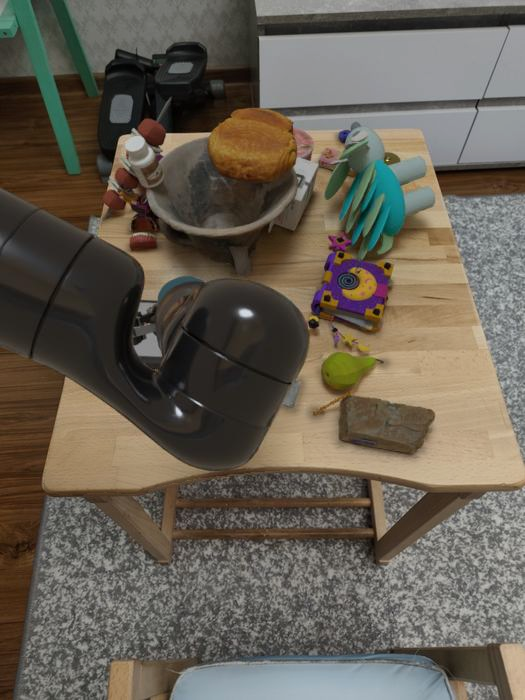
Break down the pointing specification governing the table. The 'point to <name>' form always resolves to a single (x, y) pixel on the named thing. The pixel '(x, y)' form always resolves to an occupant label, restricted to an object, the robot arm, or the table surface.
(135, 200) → the toy car
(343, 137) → the blue irregular piece
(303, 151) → the container
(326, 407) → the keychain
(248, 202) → the bowl
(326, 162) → the toy
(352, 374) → the fruit
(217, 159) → the bread loaf
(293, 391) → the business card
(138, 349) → the scale
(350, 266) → the book
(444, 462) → the table surface
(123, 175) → the skewer
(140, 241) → the dentures model
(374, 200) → the teal bird figurine
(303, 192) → the ink box
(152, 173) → the pill bottle
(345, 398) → the stone
